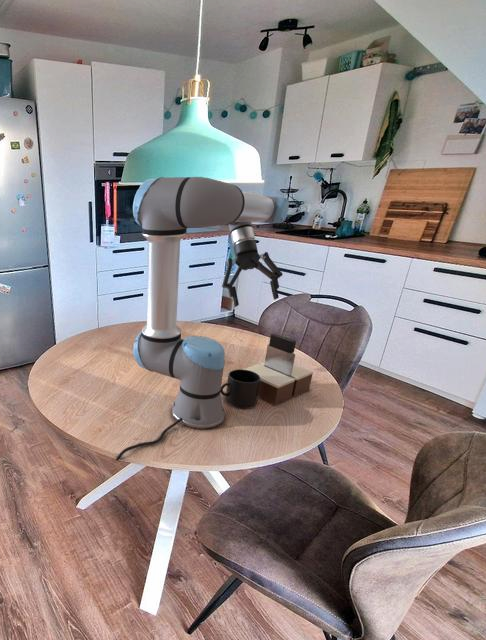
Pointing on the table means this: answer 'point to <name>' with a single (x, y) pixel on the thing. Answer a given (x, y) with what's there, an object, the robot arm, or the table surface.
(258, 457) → the table surface
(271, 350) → the dough scraper
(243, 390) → the mug
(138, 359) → the robot arm
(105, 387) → the table surface
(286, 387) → the split beige slab
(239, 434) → the table surface
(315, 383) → the table surface
